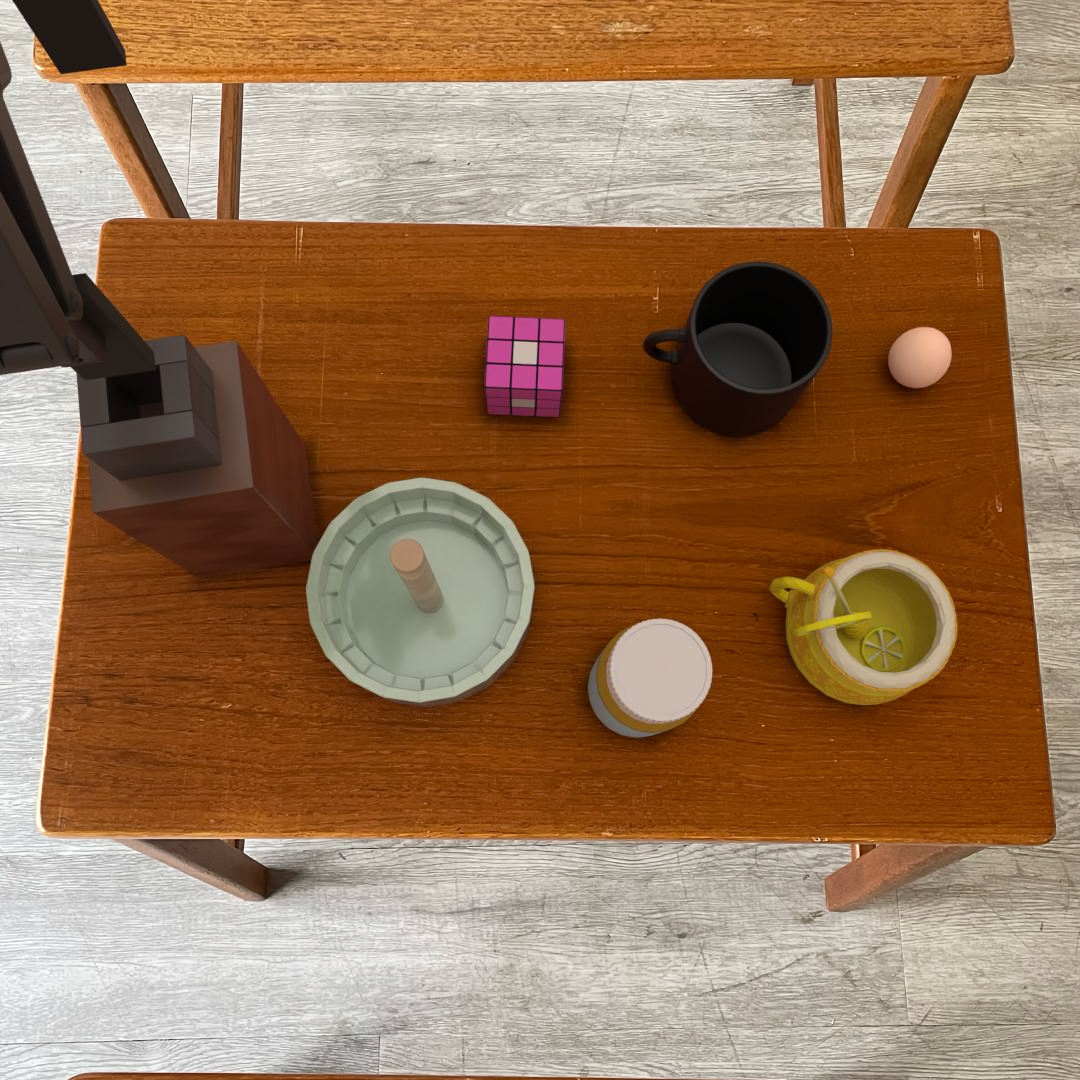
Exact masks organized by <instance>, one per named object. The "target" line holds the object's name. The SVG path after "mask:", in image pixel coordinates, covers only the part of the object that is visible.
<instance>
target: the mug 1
mask: <svg viewBox="0 0 1080 1080" xmlns="http://www.w3.org/2000/svg"><path fill="white" fill-rule="evenodd" d="M691 305H692V306H691V309H690V311H689V314H688V317H687V319H686V322H685V325H684V327H681V328H680V327H679V328H675V329H673V328H671V329H670V328H669V329H662V330H661V329H660V330H658V331H654V332H652V333H649V334H648V335H647V336H646V337H645V338H644V340H643V345H642V350H643V352H644V353H645V354H647V355H648V357H650V358H651V359H654V360H656V361H657V362H661V363H668V364H669V365H670V366H671V370H670V372H671V373H670V374H671V383H672V384H671V385H672V388H673V389H672V390H673V392H674V394H675V398H676V399H677V401H678V403H679V404H680V407H681V408H682V409H683V411H684V412H685V413H686V414H687V416H689V417H690V418H691V419H692V420H693V421H694V422H695V423H697V424H698V425H699V426H701V427H703V428H704V429H707V430H708V431H711V432H712V433H716V434H719V435H723V436H729V437H750V436H754V435H759V434H761V433H764V432H766V431H767V430H770V429H772V428H773V427H774V426H776V425H778V424H779V423H780V422H781V421H783V420H784V418H785V417H786V416H787V415H788V413H789V412H790V411H791V409H792V408H793V407H794V406H795V404H796V403H797V401H798V400H799V399H800V397H801V396H802V394H803V393H804V392H805V390H806V389H807V388H808V386H809V385H810V384H811V382H812V381H813V379H814V378H815V377H816V375H817V374H818V373H819V372H820V370H821V369H822V367H823V366H824V364H825V363H826V360H827V358H828V356H829V354H830V351H831V348H832V343H833V334H834V333H833V321H832V317H831V313H830V310H829V307H828V305H827V303H826V301H825V299H824V297H823V295H822V294H821V292H820V291H819V290H818V289H817V288H816V286H815V285H814V284H813V283H812V282H811V281H810V280H808V278H806V277H805V276H803V275H802V274H800V273H799V272H798V271H795V270H794V269H792V268H790V267H787V266H785V265H781V264H779V263H774V262H769V261H746V262H741V263H737V264H734V265H731V266H729V267H726V268H725V269H721V271H719V272H717V273H716V274H714V275H713V276H711V278H710V279H709V280H707V281H706V282H705V283H704V285H703V286H702V287H701V288H700V290H699V291H698V293H697V295H696V297H695V299H694V300H693V303H692V304H691ZM666 342H677V343H678V344H677V347H676V350H673V349H672V350H665V349H662V348H659V347H658V346H657V345H658V344H661V343H666Z"/></svg>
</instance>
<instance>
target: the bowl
mask: <svg viewBox="0 0 1080 1080" xmlns="http://www.w3.org/2000/svg"><path fill="white" fill-rule="evenodd" d="M402 539H412V540H415V541H417V542H418V543H419V544H420V545H421V546H422V548H423V551H424V553H425V555H426V557H427V560H428V562H429V564H430V567H431V569H432V571H433V574H434V576H435V578H436V581H437V583H438V585H439V587H440V590H441V592H442V594H443V604H442V606H441V608H440V609H439V610H438V611H436V612H433V613H426V612H423V611H422V610H421V609H420V608H419V607H418V605H417V604H416V602H415V601H414V599H413V597H412V596H411V594H410V592H409V591H408V589H407V587H406V586H405V584H404V583H403V581H402V579H401V578H400V576H399V574H398V573H397V571H396V569H395V568H394V566H393V565H392V563H391V560H390V551H391V549H392V547H393V545H394V544H395V543H396V542H398V541H400V540H402ZM532 566H533V565H532V560H531V555H530V552H529V549H528V547H527V546H526V543H525V541H524V540H523V538H522V536H521V534H520V532H519V530H518V529H517V526H516V525H515V523H514V521H513V520H512V519H511V518H510V517H509V516H508V515H507V514H506V513H505V512H503V510H502V509H500V507H499V506H497V504H495V503H494V502H493V501H492V500H491V499H490V498H489V497H487V496H486V495H484V494H482V493H479V492H477V491H476V490H473V489H471V488H469V487H467V486H465V485H463V484H461V483H458V482H456V481H450V480H443V479H437V478H430V477H416V478H415V477H414V478H407V479H401V480H396V481H390V482H386V483H384V484H382V485H380V486H378V487H375V488H374V489H372V490H370V491H367V492H365V493H364V494H361V495H359V496H357V497H355V499H353V500H352V501H351V502H350V503H349V504H348V505H347V506H346V507H345V508H344V509H342V510H341V511H340V513H339V514H337V515H336V516H335V517H334V518H333V519H332V520H331V521H330V522H329V523H328V525H327V527H326V529H325V530H324V532H323V534H322V535H321V538H320V540H318V545H317V547H316V548H315V550H314V552H313V555H312V559H311V561H310V565H309V569H308V575H307V580H306V584H305V594H306V603H307V610H308V619H309V624H310V627H311V629H312V631H313V633H314V635H315V638H316V639H317V642H318V644H319V645H320V648H321V649H322V652H323V654H324V656H325V657H326V659H328V660H329V661H330V662H331V663H332V664H333V665H334V666H335V667H336V668H337V669H338V670H339V671H340V672H341V673H342V675H344V676H345V678H346V679H348V680H349V681H350V682H352V684H355V685H357V686H359V687H361V688H363V690H367V691H368V692H370V693H372V694H374V695H376V696H378V697H380V698H382V699H384V700H385V701H388V702H390V703H393V704H399V705H405V706H406V705H407V706H414V707H419V708H431V707H438V706H442V705H449V704H455V703H459V702H462V701H464V700H466V699H467V698H469V697H471V696H473V695H475V694H478V693H479V692H481V691H484V690H485V689H487V688H489V687H490V686H492V685H493V684H494V683H495V682H496V680H497V679H499V677H501V675H502V674H503V673H504V672H505V671H506V670H507V669H508V668H509V667H510V666H512V664H513V663H514V661H515V660H516V658H517V657H518V655H519V652H520V650H521V648H522V646H523V644H524V642H525V641H526V639H527V636H528V634H529V632H530V630H531V629H530V628H531V621H532V615H533V610H534V609H533V608H534V602H535V591H536V590H535V589H536V587H535V586H536V584H535V578H534V572H533V567H532Z"/></svg>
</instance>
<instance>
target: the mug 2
mask: <svg viewBox="0 0 1080 1080" xmlns="http://www.w3.org/2000/svg"><path fill="white" fill-rule="evenodd" d="M786 589H790V590H789V591H787V590H786ZM768 590H769V592H770V593H771V594H772V595H773V596H774V597H775V598H776V599H777V600H779V601H781V602H782V603H785V604H784V607H785V608H786V615H785V616H786V617H785V638H786V642H787V646H788V649H789V653H790V656H791V658H792V660H793V662H794V664H795V666H796V668H797V669H798V671H799V672H800V674H802V675H803V677H804V678H805V679H806V680H807V681H808V683H809V684H810V685H811V686H813V687H814V688H816V689H817V690H818V691H820V692H821V693H822V694H824V696H825V695H826V696H827V697H829V698H832V699H834V700H837V701H839V702H843V703H845V704H850V705H851V704H852V705H860V706H872V705H880V704H885V703H889V702H891V701H894V700H897V699H898V698H901V697H903V696H905V695H907V694H908V693H910V692H912V691H913V690H914V689H917V688H919V687H921V686H923V685H925V684H927V683H928V682H929V681H931V680H933V679H934V678H935V677H936V676H938V675H939V674H940V673H941V671H943V669H944V668H945V667H946V665H947V663H948V662H949V659H950V657H951V655H952V654H953V650H954V649H955V646H956V642H957V638H958V636H957V635H958V632H959V631H958V620H957V613H956V612H957V611H956V607H955V604H954V601H953V597H952V596H951V592H950V591H949V590H948V588H947V587H946V585H945V583H944V582H943V581H942V580H941V578H940V577H939V576H938V575H937V574H936V572H935V571H934V570H933V569H931V568H930V567H929V566H928V565H927V564H926V563H924V562H923V561H921V560H919V559H917V558H915V557H914V556H910V555H908V554H906V553H904V552H900V551H898V550H892V549H882V548H879V549H870V550H865V551H862V552H857V553H854V554H852V555H848V556H845V557H841V558H838V559H834V560H832V561H829V562H827V563H824V564H823V565H821V566H820V567H818V568H817V569H815V570H813V571H812V572H811V573H810V574H809V575H808V576H807V577H805V578H804V579H801V578H797V577H794V576H782V577H778V578H775V579H773V580H772V582H771V584H770V585H769V586H768Z"/></svg>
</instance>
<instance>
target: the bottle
mask: <svg viewBox="0 0 1080 1080" xmlns="http://www.w3.org/2000/svg"><path fill="white" fill-rule="evenodd" d="M713 670H714V669H713V662H712V657H711V655H710V652H709V650H708V647H707V646H706V644H705V642H704V641H703V640H702V638H701V636H699V635H698V634H697V632H695V631H694V629H692V628H690V627H689V626H687V625H685V624H684V623H682V622H679V621H677V620H673V619H667V618H659V617H658V618H652V619H647V620H642V621H641V622H637V623H636V624H632V625H630V626H628V627H626V628H624V629H622V630H621V631H619V632H617V633H616V634H615V635H614V636H613V637H612V638H611V639H610V640H609V641H608V642H607V643H606V645H605V646H604V648H603V649H602V651H601V652H600V654H599V655H598V657H597V658H596V659H595V662H594V664H593V665H592V668H591V669H590V673H589V676H588V682H587V693H588V700H589V704H590V706H591V708H592V710H593V713H594V715H595V716H596V718H597V719H598V720H599V721H600V722H601V724H603V725H604V726H605V727H606V728H607V729H609V730H610V731H612V732H614V733H616V734H618V735H619V736H624V737H628V738H637V739H638V738H645V737H646V738H647V737H652V736H655V735H658V734H661V733H664V732H668V731H671V730H673V729H675V728H677V727H679V726H681V725H682V724H684V723H685V722H687V721H688V720H689V719H690V718H691V717H692V716H693V714H695V713H696V711H697V710H698V708H699V707H700V705H701V704H703V703H704V700H705V699H706V698H707V694H709V690H710V689H711V684H712V681H713V680H712V678H713Z"/></svg>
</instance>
